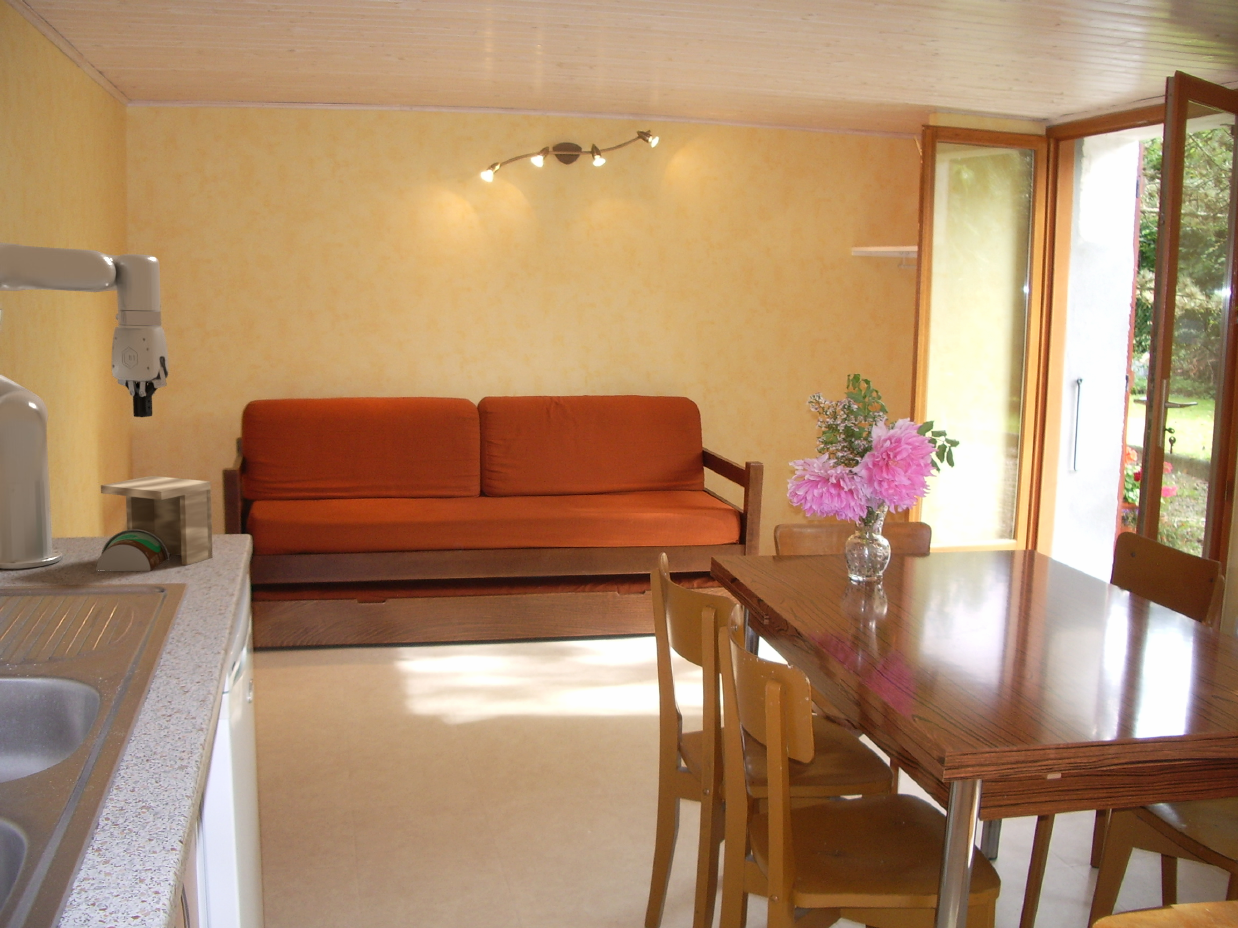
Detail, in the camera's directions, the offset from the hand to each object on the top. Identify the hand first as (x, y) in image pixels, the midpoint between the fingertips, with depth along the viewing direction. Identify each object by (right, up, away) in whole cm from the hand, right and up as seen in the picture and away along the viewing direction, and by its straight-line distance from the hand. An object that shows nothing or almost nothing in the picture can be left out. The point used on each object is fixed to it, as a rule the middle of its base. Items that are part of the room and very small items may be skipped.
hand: (143, 416), depth 206 cm
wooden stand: (+4, -28, -1) cm, 28 cm away
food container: (+1, -26, -10) cm, 28 cm away
